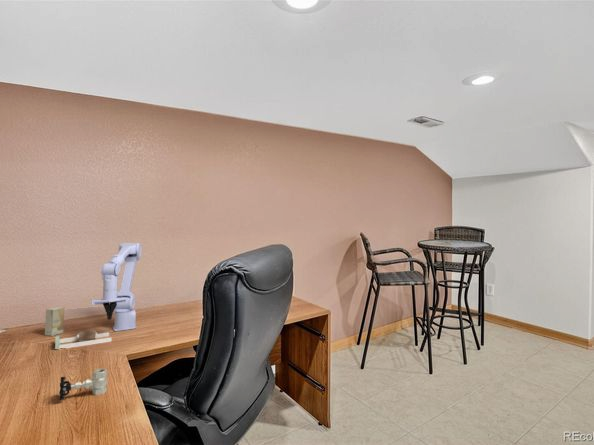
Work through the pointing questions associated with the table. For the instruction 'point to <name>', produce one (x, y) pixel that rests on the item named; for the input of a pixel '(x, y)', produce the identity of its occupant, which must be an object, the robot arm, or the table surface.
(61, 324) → the skincare box
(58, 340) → the lane
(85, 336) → the block
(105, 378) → the valve
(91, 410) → the table surface
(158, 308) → the table surface
